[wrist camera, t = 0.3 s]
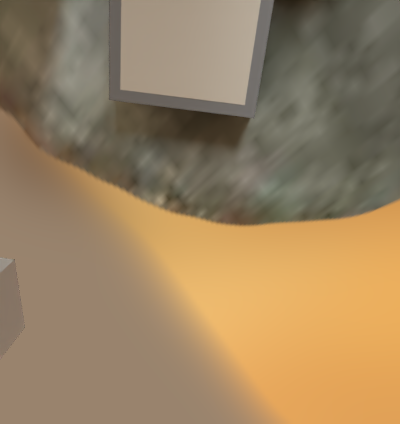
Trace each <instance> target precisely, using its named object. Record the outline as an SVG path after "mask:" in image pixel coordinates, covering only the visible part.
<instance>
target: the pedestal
mask: <svg viewBox="0 0 400 424" xmlns="http://www.w3.org/2000/svg"><path fill="white" fill-rule="evenodd" d="M273 3H274V0H109V100H114V101H122V102H130V103H138V104H145V105H153V106H161V107H169V108H177V109H185V110H193V111H201V112H209V113H217V114H225V115H233V116H241V117H249V118H254V117H255V111H256V105H257V99H258V93H259V87H260V81H261V75H262V69H263V63H264V57H265V51H266V45H267V39H268V33H269V27H270V21H271V15H272V9H273Z"/></svg>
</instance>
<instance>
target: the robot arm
mask: <svg viewBox="0 0 400 424" xmlns="http://www.w3.org/2000/svg"><path fill="white" fill-rule="evenodd" d="M24 328H25V325H24V319H23V312H22V305H21V299H20V292H19V285H18V279H17V272H16V267H15V260H14V259H7V258H0V359H1V358H2V356H3V355H4V354H5V353H6V351H7V350H8V349H9V347H10V346H11V345H12V343H13V342H14V341H15V340H16V338H17V337H18V336H19V334H20V333H21V332H22V331H23V329H24Z"/></svg>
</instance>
